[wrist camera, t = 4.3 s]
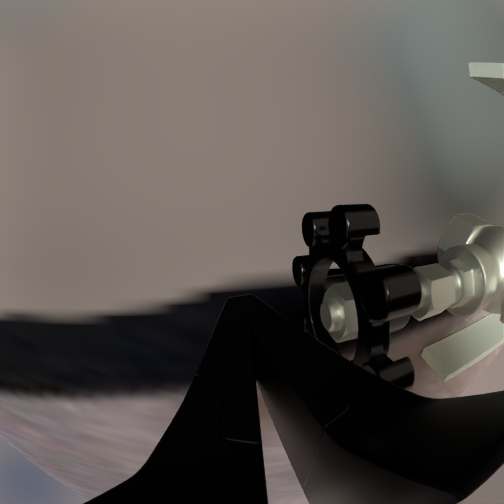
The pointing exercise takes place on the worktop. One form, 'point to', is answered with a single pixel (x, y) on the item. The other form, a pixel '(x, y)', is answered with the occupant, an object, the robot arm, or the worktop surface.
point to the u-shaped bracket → (490, 327)
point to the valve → (391, 284)
